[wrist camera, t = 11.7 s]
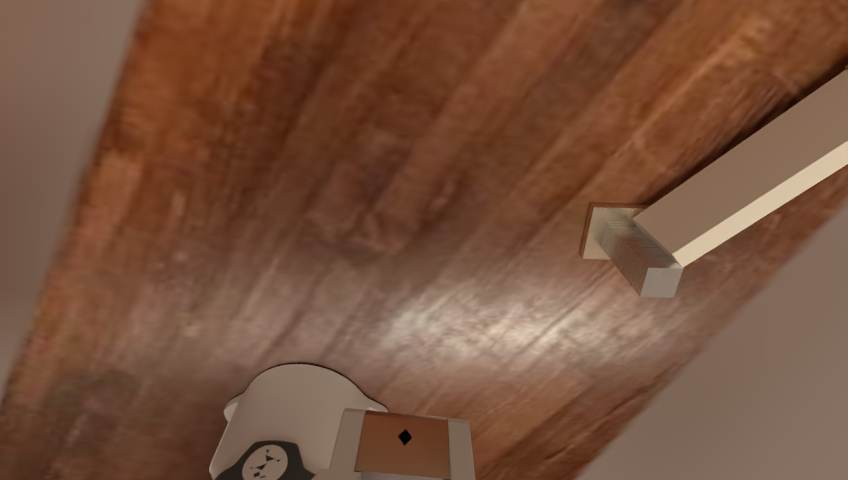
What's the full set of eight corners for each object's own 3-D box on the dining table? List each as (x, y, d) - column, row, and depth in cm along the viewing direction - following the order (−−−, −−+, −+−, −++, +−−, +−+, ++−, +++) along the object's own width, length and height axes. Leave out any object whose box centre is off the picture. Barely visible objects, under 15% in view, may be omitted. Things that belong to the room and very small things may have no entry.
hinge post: (633, 255, 38) (686, 313, 30) (579, 253, 39) (617, 310, 30) (647, 204, 36) (708, 252, 28) (589, 202, 36) (634, 250, 28)
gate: (643, 232, 36) (684, 270, 30) (631, 216, 35) (670, 251, 29) (884, 68, 30) (994, 75, 24) (874, 45, 29) (984, 47, 23)
